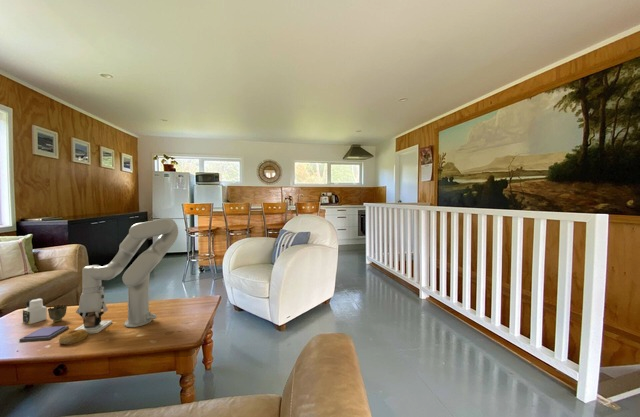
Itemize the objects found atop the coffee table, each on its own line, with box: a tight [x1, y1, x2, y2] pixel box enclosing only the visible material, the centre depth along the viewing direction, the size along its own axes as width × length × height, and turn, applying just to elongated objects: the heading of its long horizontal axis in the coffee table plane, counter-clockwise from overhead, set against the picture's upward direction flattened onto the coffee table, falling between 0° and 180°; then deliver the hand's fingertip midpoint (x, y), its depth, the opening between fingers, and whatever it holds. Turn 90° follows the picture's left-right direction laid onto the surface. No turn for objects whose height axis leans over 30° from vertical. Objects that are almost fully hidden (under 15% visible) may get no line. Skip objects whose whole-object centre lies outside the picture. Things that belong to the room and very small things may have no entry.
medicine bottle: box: [22, 297, 48, 325], centre depth 146 cm, size 7×7×12 cm
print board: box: [74, 319, 113, 335], centre depth 138 cm, size 12×12×1 cm
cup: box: [47, 304, 68, 324], centre depth 146 cm, size 8×7×8 cm
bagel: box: [58, 329, 89, 345], centre depth 126 cm, size 10×11×5 cm
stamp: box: [84, 312, 99, 328], centre depth 138 cm, size 4×4×8 cm
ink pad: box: [19, 325, 69, 343], centre depth 131 cm, size 12×12×2 cm
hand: (92, 324), depth 138 cm, fingers closed on stamp, 4 cm apart
